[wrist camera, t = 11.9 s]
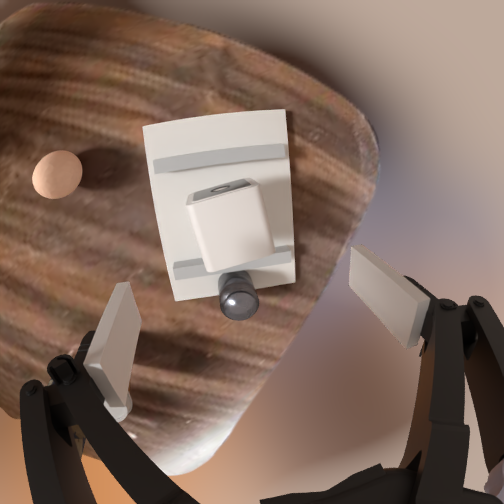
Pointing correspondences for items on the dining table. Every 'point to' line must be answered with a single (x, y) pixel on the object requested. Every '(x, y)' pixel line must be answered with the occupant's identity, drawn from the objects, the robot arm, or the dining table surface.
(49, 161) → the egg
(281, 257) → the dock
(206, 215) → the white rounded plastic box
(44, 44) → the dining table surface
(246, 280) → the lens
